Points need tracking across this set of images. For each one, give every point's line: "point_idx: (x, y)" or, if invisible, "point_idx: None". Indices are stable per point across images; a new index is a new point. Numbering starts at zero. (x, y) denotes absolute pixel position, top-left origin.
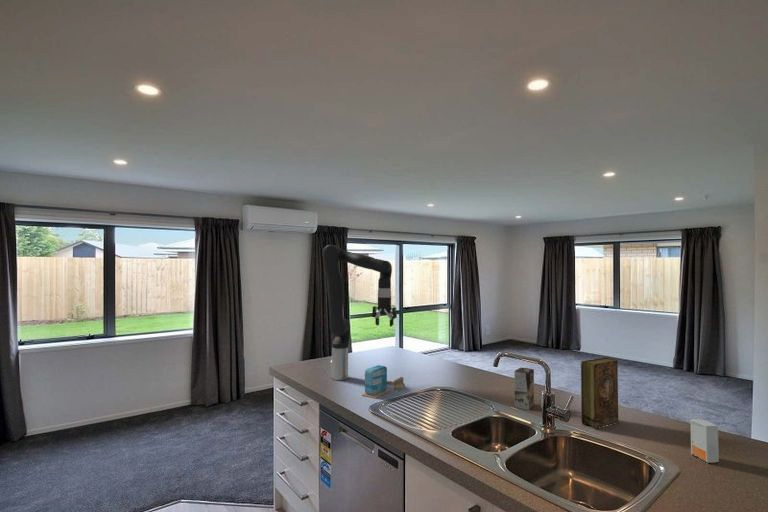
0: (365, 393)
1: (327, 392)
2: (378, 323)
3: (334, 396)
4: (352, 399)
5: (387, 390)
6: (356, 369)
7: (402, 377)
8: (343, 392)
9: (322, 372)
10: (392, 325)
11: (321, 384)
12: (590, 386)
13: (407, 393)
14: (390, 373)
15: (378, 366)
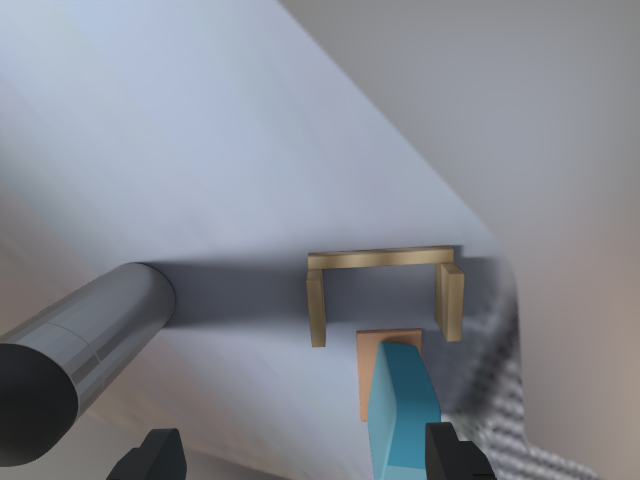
0: (365, 407)
1: (239, 443)
2: (167, 466)
3: (286, 459)
4: (354, 454)
5: (419, 343)
6: (81, 127)
7: (462, 279)
8: (283, 419)
9: (10, 268)
10: (451, 428)
11: (152, 393)
12: None
13: (499, 318)
14: (278, 86)
15: (408, 441)
